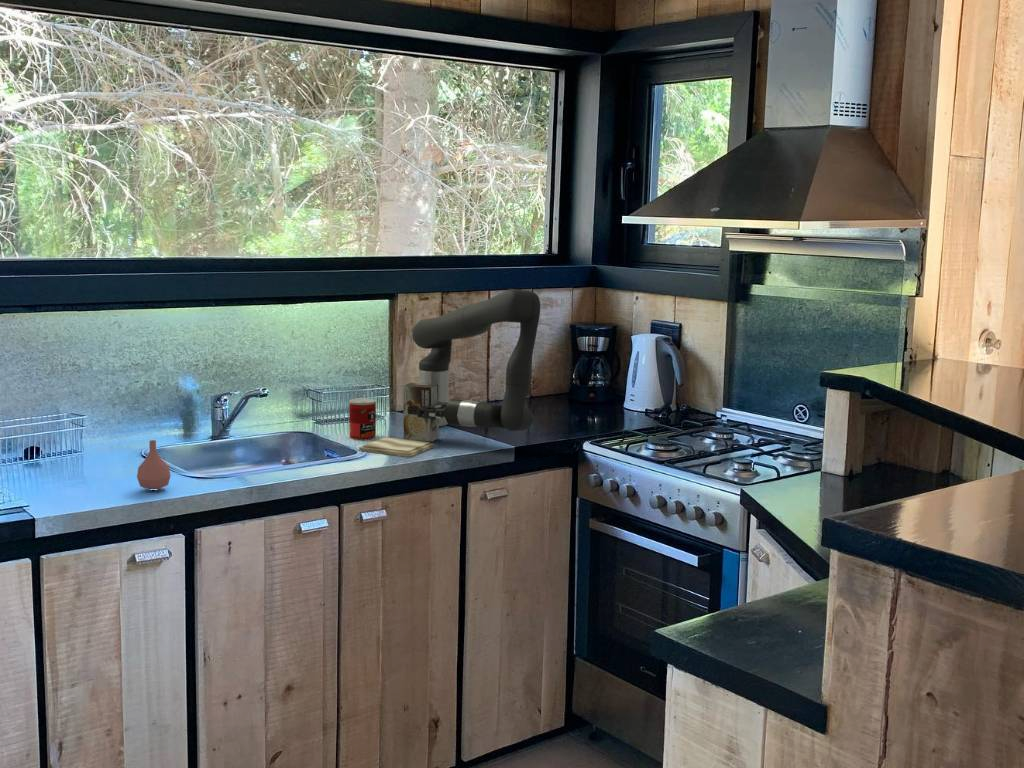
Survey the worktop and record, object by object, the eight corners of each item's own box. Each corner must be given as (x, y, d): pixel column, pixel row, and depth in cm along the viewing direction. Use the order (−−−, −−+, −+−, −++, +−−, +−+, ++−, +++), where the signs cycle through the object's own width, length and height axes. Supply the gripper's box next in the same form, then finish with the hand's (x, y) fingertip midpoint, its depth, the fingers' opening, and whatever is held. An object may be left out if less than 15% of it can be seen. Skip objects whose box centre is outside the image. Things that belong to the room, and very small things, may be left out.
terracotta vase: (159, 484, 273) (158, 436, 271) (177, 489, 268) (176, 440, 266) (131, 490, 267) (129, 441, 265) (148, 496, 262) (146, 445, 260)
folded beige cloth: (385, 441, 325) (385, 436, 324) (433, 447, 318) (433, 442, 318) (359, 450, 312) (359, 445, 312) (409, 457, 305) (409, 451, 305)
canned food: (363, 441, 325) (362, 403, 323) (343, 437, 329) (343, 400, 328) (381, 436, 331) (381, 400, 329) (362, 433, 335) (362, 397, 334)
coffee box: (439, 437, 329) (439, 384, 327) (431, 442, 323) (432, 387, 321) (410, 435, 332) (410, 382, 329) (402, 439, 326) (402, 385, 323)
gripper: (476, 396, 326) (426, 391, 333) (453, 404, 313) (401, 399, 320) (476, 421, 327) (426, 416, 334) (453, 430, 314) (402, 424, 321)
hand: (414, 407), depth 327 cm, fingers closed on coffee box, 7 cm apart
